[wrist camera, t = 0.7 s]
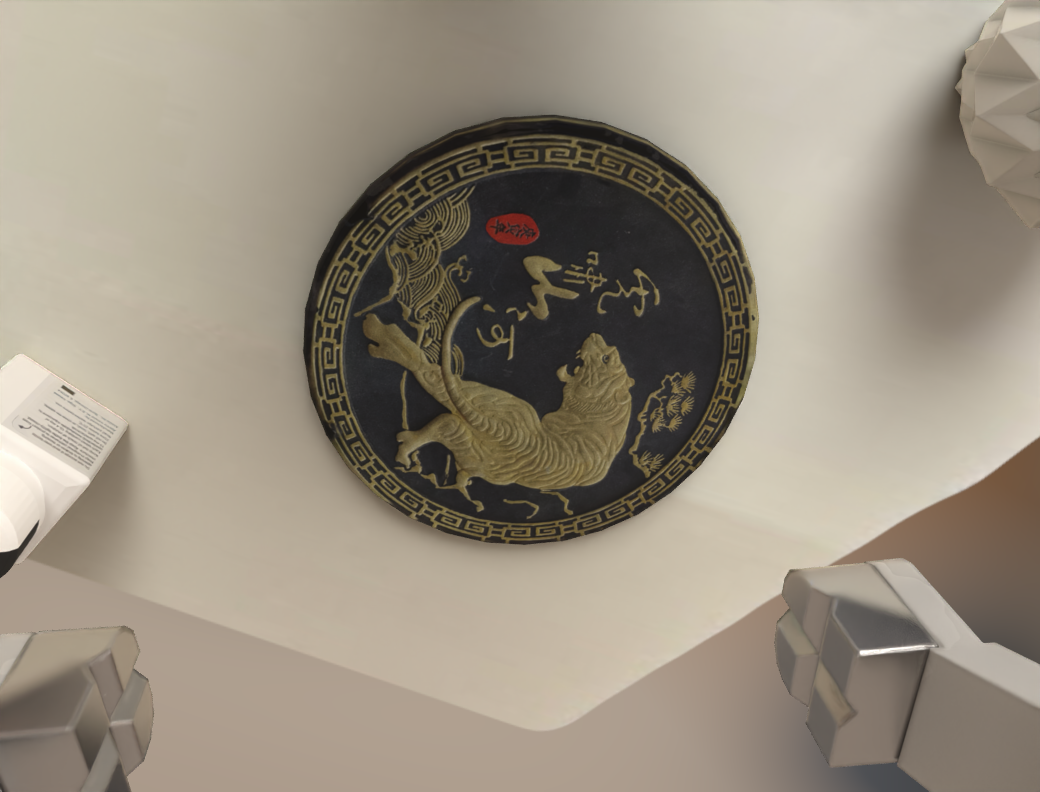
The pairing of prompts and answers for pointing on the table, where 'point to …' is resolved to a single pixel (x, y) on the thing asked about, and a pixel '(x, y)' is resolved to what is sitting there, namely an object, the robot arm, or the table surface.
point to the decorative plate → (530, 329)
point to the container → (45, 452)
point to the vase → (1006, 105)
